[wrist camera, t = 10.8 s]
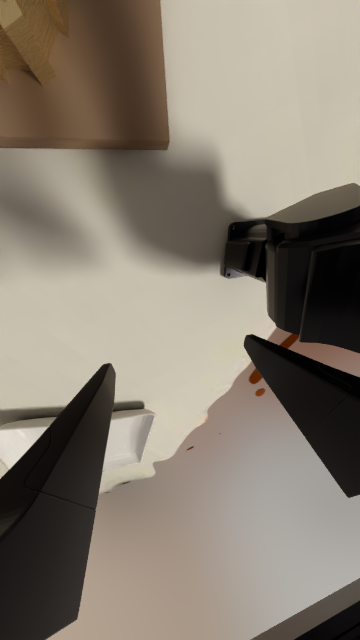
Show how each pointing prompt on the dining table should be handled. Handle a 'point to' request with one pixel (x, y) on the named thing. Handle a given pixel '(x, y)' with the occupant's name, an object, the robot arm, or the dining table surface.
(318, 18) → the dining table surface
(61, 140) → the gear board
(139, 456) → the square plate
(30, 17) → the wooden gear
